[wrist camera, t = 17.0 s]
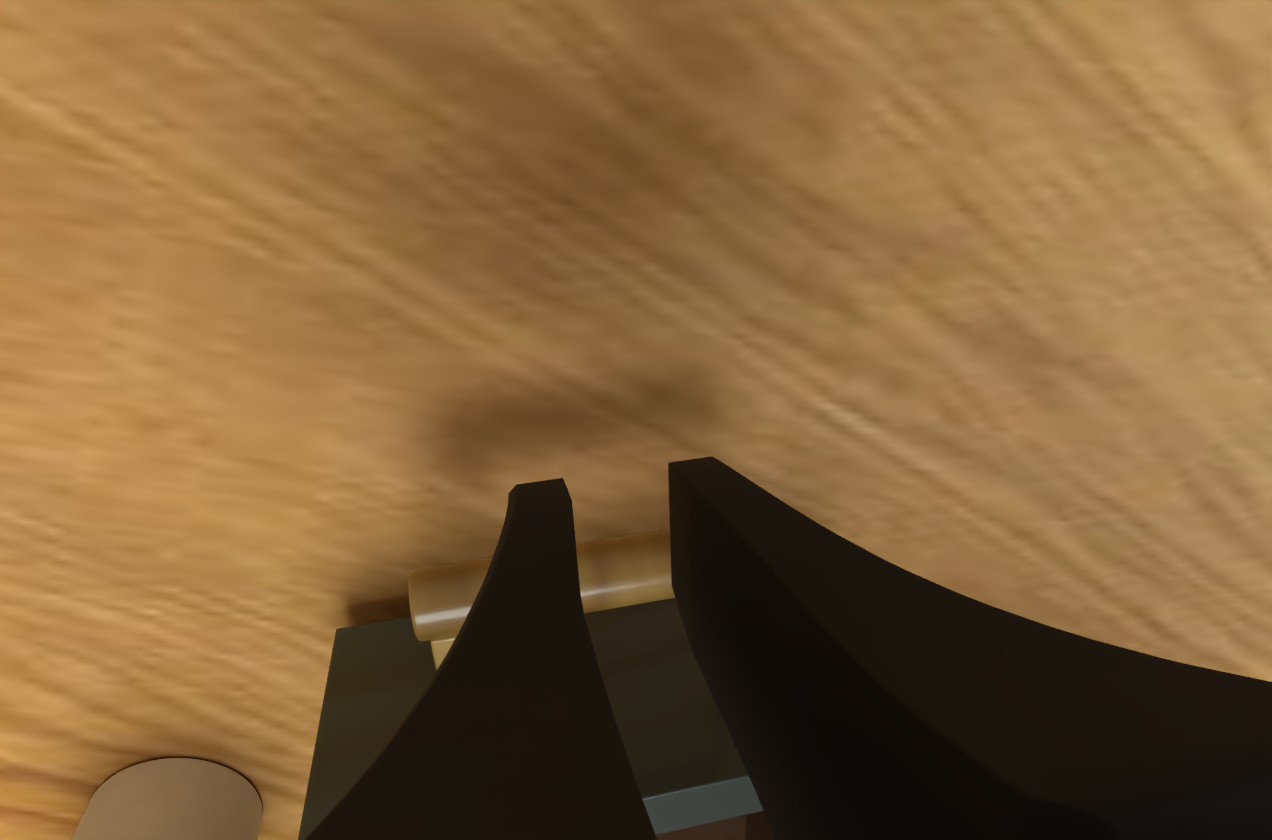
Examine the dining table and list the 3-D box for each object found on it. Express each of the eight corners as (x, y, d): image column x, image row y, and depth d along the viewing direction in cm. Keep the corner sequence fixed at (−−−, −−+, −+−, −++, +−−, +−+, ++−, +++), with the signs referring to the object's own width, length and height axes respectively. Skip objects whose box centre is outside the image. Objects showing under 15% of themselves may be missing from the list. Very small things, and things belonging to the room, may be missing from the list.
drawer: (296, 485, 19) (225, 701, 13) (798, 416, 21) (941, 574, 15) (421, 941, 27) (414, 1205, 21) (773, 858, 29) (859, 1076, 23)
